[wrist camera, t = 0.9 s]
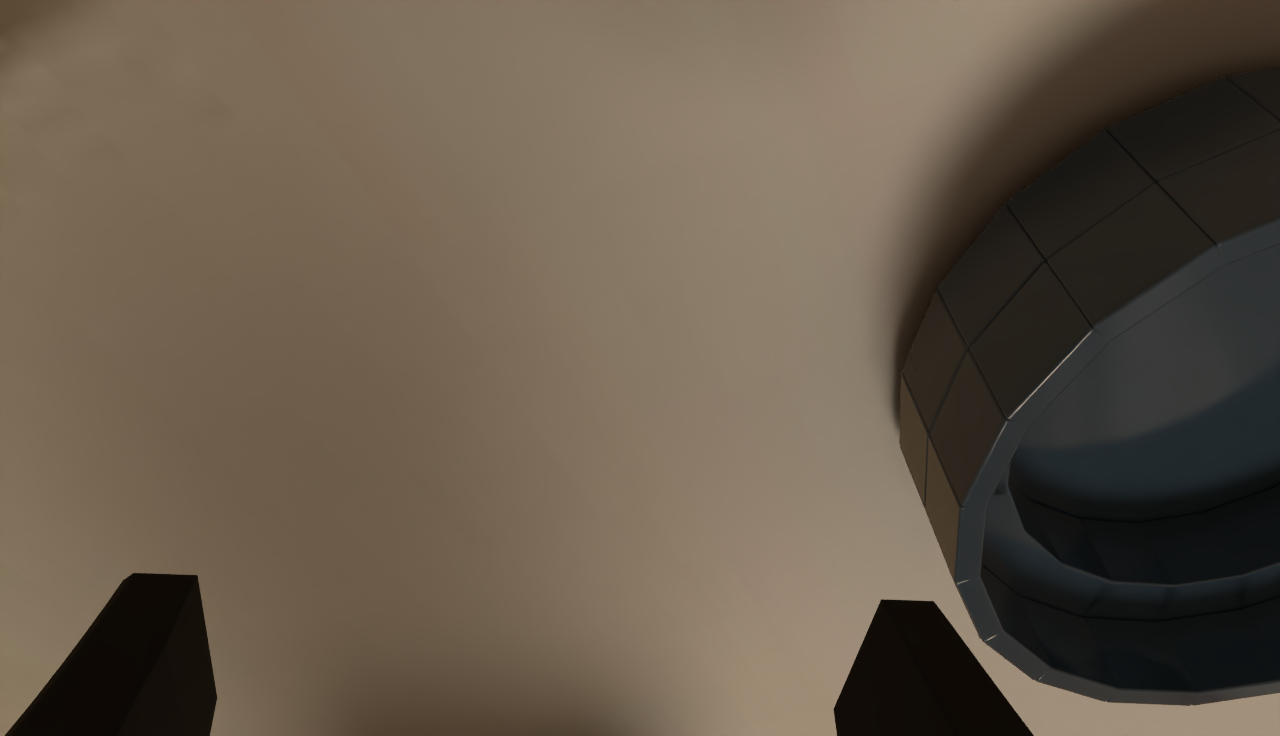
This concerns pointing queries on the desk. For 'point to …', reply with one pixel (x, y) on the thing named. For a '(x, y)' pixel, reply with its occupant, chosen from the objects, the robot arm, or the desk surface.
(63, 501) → the desk surface
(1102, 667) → the bowl
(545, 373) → the desk surface
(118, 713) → the robot arm
